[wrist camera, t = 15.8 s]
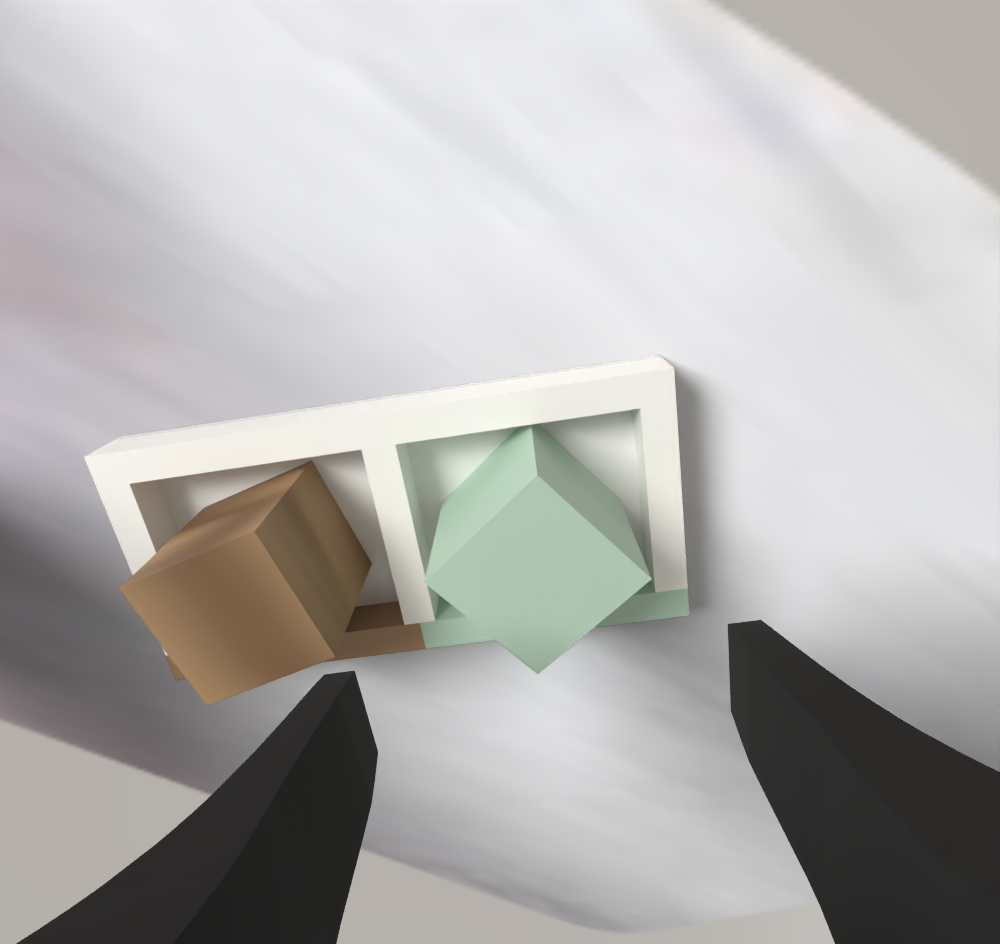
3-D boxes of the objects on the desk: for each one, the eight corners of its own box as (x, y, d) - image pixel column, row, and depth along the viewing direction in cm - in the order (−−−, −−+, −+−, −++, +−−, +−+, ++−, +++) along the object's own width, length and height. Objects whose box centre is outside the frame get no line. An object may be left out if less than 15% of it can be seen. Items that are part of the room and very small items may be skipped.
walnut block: (269, 604, 22) (206, 705, 18) (204, 507, 21) (118, 589, 16) (372, 563, 22) (335, 656, 17) (311, 460, 20) (254, 531, 16)
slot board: (200, 645, 24) (175, 680, 22) (120, 436, 21) (84, 456, 19) (674, 584, 22) (689, 615, 21) (659, 354, 20) (674, 367, 18)
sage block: (442, 501, 21) (424, 582, 16) (529, 415, 20) (536, 475, 15) (530, 577, 22) (537, 674, 17) (619, 498, 21) (651, 578, 16)
